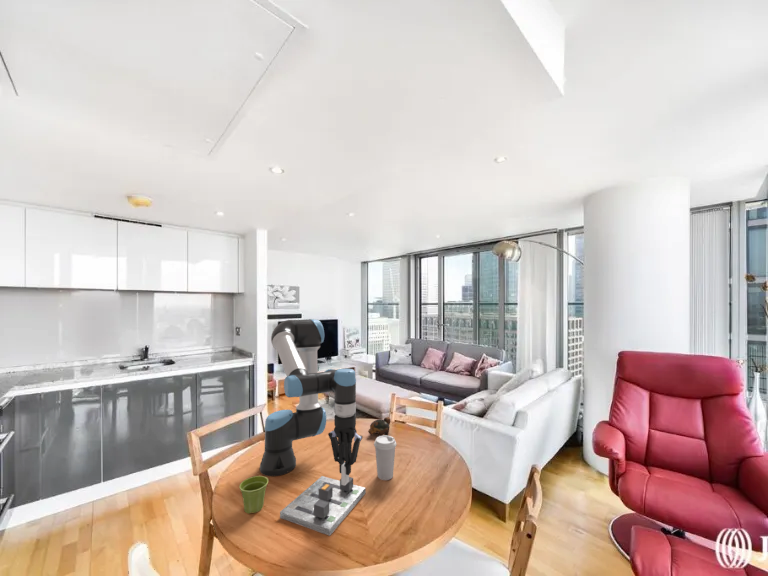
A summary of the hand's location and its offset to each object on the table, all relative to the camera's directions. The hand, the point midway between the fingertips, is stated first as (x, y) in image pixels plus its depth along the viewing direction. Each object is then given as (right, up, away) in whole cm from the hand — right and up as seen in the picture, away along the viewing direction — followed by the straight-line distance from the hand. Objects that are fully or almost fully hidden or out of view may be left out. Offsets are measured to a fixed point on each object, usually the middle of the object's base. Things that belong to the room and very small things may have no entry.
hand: (345, 483), depth 109 cm
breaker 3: (-1, -8, +9) cm, 12 cm away
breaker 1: (-8, -7, +3) cm, 11 cm away
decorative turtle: (+11, -13, +64) cm, 66 cm away
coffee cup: (+14, -11, +22) cm, 28 cm away
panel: (-8, -10, +3) cm, 13 cm away
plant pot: (-32, -10, +1) cm, 34 cm away
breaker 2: (-7, -7, -6) cm, 11 cm away
